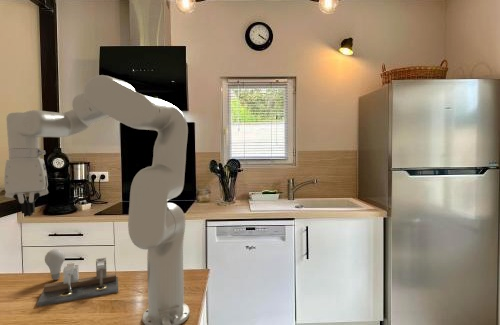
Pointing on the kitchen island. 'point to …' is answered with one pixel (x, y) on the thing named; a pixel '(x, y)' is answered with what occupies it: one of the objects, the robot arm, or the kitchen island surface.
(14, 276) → the kitchen island surface
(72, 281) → the sliding leg
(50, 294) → the bolt plate
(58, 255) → the lightbulb
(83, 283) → the frame
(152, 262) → the robot arm
